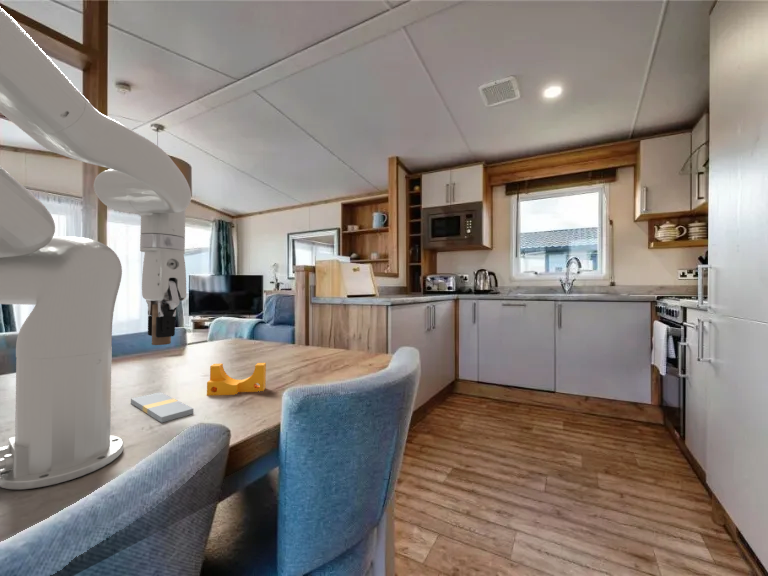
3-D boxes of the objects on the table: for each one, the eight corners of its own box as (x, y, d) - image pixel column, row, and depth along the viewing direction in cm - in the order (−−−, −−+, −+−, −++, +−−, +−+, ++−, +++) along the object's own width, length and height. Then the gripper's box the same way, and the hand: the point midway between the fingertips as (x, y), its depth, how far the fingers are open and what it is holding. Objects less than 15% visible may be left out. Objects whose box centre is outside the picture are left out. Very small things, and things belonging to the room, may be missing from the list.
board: (161, 422, 59) (161, 417, 59) (130, 403, 69) (130, 398, 69) (193, 413, 64) (193, 408, 64) (160, 396, 73) (160, 392, 73)
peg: (155, 345, 64) (156, 299, 64) (148, 344, 66) (149, 299, 66) (173, 343, 67) (174, 299, 67) (166, 342, 68) (167, 299, 68)
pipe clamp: (206, 396, 74) (207, 368, 74) (213, 390, 79) (214, 363, 79) (261, 394, 76) (262, 367, 76) (265, 388, 80) (265, 362, 80)
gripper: (201, 245, 65) (199, 337, 64) (166, 250, 74) (165, 330, 74) (158, 240, 58) (156, 342, 58) (126, 246, 68) (124, 334, 68)
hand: (161, 334), depth 66 cm, fingers closed on peg, 3 cm apart
